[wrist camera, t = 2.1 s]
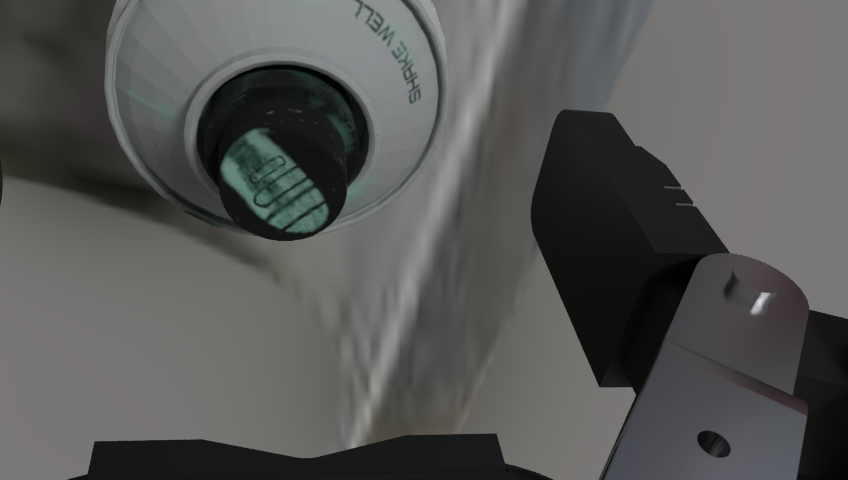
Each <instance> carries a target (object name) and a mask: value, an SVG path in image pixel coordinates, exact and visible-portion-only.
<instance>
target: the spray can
mask: <svg viewBox="0 0 848 480" xmlns="http://www.w3.org/2000/svg"><path fill="white" fill-rule="evenodd" d="M104 91H105V97H106V103H107V109H108V115H109V120H110V122H111V124H112V127H113V129H114V132H115V134H116V137H117V139H118V142H119V144H120V147H121V148H122V150H123V151H124V153H125V154H126V156H127V157H128V159H129V160H130V162H131V163H132V165H133V166H134V168H135V169H136V171H137V172H138V173H139V174H140V175H141V176H142V177H143V178H144V179H145V180H146V181H147V182H148V183H149V184H150V185H151V186H152V187H153V188H154V189H155V190H156V191H157V193H158V194H159V195H161V196H162V197H164V198H165V199H167V200H168V201H169V202H171V203H172V204H174V205H175V206H177V207H178V208H179V209H181V210H182V211H184V212H185V213H187V214H189V215H191V216H194V217H196V218H198V219H200V220H202V221H204V222H206V223H208V224H210V225H212V226H216V227H219V228H223V229H226V230H229V231H233V232H236V233H239V234H245V235H252V236H260V237H263V238H266V239H271V240H277V241H293V240H300V239H304V238H307V237H311V236H314V235H318V234H323V233H329V232H332V231H335V230H338V229H341V228H344V227H347V226H350V225H353V224H356V223H358V222H360V221H362V220H364V219H365V218H367V217H369V216H371V215H373V214H375V213H377V212H379V211H380V210H382V209H383V208H385V207H386V206H387V205H389V204H390V203H391V202H392V201H394V200H395V199H396V198H398V197H399V196H400V195H401V194H403V193H404V192H405V191H406V190H407V189H408V187H409V186H410V185H411V184H412V183H413V182H414V181H415V180H416V178H417V177H418V176H419V175H420V174H421V173H422V172H423V170H424V168H425V167H426V165H427V163H428V162H429V160H430V158H431V157H432V155H433V153H434V152H435V150H436V148H437V146H438V143H439V140H440V137H441V134H442V131H443V129H444V126H445V123H446V118H447V110H448V102H449V94H450V91H449V80H448V68H447V57H446V46H445V39H444V36H443V32H442V29H441V26H440V23H439V20H438V16H437V13H436V10H435V7H434V5H433V3H432V0H116V4H115V7H114V10H113V13H112V17H111V20H110V23H109V27H108V30H107V39H106V55H105V79H104Z"/></svg>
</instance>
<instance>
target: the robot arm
mask: <svg viewBox="0 0 848 480" xmlns="http://www.w3.org/2000/svg"><path fill="white" fill-rule="evenodd" d="M2 186H3V180H2V168H1V162H0V204H1V198H2ZM531 224H532V230H533V233H534V236H535V239H536V241H537V243H538V246H539V248H540V250H541V253H542V255H543V257H544V260H545V262H546V264H547V266H548V269H549V271H550V273H551V276H552V278H553V280H554V283H555V285H556V287H557V290H558V292H559V294H560V297H561V299H562V301H563V304H564V306H565V308H566V311H567V313H568V315H569V317H570V320H571V322H572V324H573V327H574V329H575V332H576V334H577V336H578V338H579V341H580V343H581V345H582V348H583V350H584V352H585V355H586V357H587V359H588V362H589V364H590V366H591V369H592V371H593V373H594V376H595V378H596V380H597V383H598V385H599V387H632V388H633V390H634V392H635V394H636V397H635V399H634V402H633V403H632V405H631V408H630V410H629V412H628V414H627V416H626V419H625V421H624V423H623V426H622V428H621V430H620V432H619V435H618V437H617V439H616V441H615V444H614V446H613V448H612V450H611V453H610V455H609V457H608V459H607V462H606V464H605V466H604V469H603V471H602V473H601V475H600V478H599V480H848V319H845V318H841V317H837V316H833V315H829V314H825V313H821V312H817V311H813V310H809V304H808V301H807V298H806V296H805V295H804V293H803V292H802V290H801V289H800V288H799V287H798V286H797V285H796V284H795V282H793V281H792V280H791V279H790V278H789V277H788V276H786V275H785V274H783V273H782V272H780V271H779V270H777V269H775V268H774V267H772V266H770V265H768V264H766V263H763V262H761V261H759V260H756V259H753V258H750V257H747V256H743V255H738V254H731V253H730V252H729V251H728V249H727V248H726V247H725V245H724V244H723V243H722V241H721V240H720V238H719V237H718V236H717V234H716V233H715V232H714V230H713V229H712V228H711V226H710V225H709V223H708V222H707V221H706V219H705V218H704V217H703V215H702V214H701V213H700V211H699V210H698V208H697V207H694V206H693V201H692V200H691V199H690V197H689V196H688V195H687V193H686V192H685V190H681V185H680V184H679V182H678V181H677V180H676V178H675V177H674V175H673V174H672V173H671V171H670V170H669V169H668V168H667V166H666V165H665V164H664V163H663V162H661V161H660V160H658V159H657V158H656V157H654V156H653V155H652V154H650V153H649V152H648V151H646V150H645V149H644V148H642V147H641V146H635V145H634V143H633V142H632V140H631V139H630V137H629V136H628V135H627V133H626V132H625V130H624V129H623V127H622V126H621V124H620V123H619V122H618V120H617V119H616V117H615V116H614V115H613V114H611V113H606V112H592V111H579V110H562V111H561V112H560V113H559V114H558V116H557V117H556V120H555V122H554V125H553V128H552V131H551V135H550V138H549V142H548V145H547V149H546V152H545V156H544V159H543V162H542V166H541V169H540V173H539V176H538V180H537V183H536V187H535V190H534V194H533V198H532V205H531ZM68 480H553V479H551V478H548V477H546V476H543V475H541V474H539V473H536V472H533V471H530V470H527V469H523V468H520V467H517V466H513V465H509V464H505V462H504V459H503V455H502V452H501V448H500V445H499V441H498V437H497V434H451V435H405V436H401V437H397V438H393V439H389V440H385V441H381V442H377V443H373V444H369V445H365V446H361V447H357V448H353V449H349V450H345V451H340V452H336V453H332V454H328V455H324V456H320V457H315V458H306V459H305V458H296V457H291V456H286V455H280V454H275V453H270V452H264V451H260V450H254V449H249V448H243V447H239V446H233V445H228V444H223V443H218V442H213V441H207V440H202V439H200V440H148V441H97V442H94V447H93V452H92V457H91V461H90V466H89V471H88V474H87V475H83V476H79V477H75V478H71V479H68Z"/></svg>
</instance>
